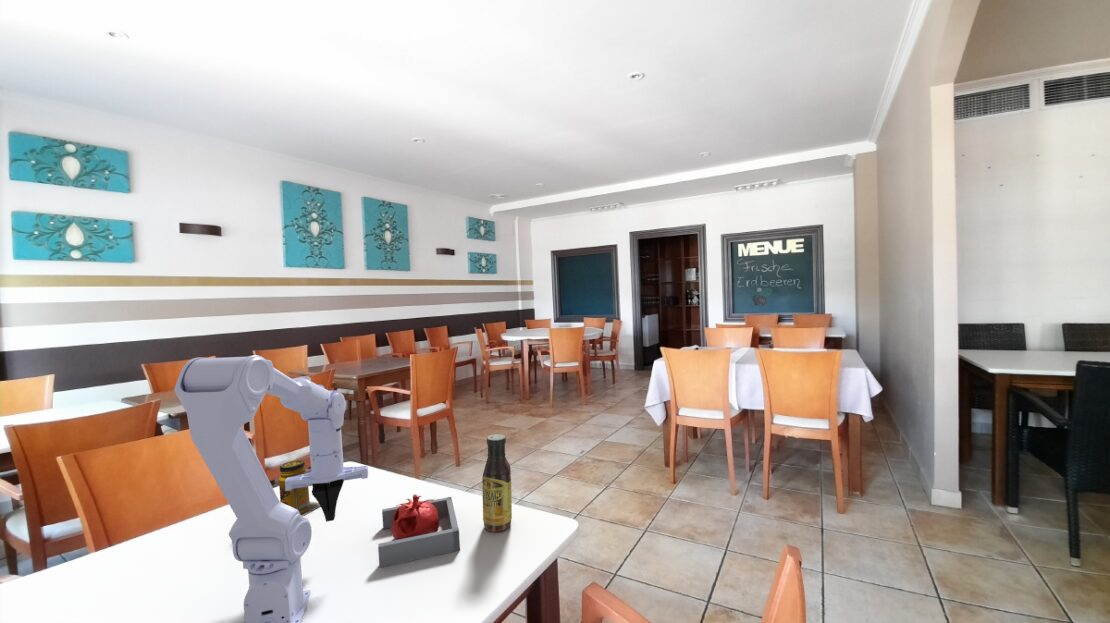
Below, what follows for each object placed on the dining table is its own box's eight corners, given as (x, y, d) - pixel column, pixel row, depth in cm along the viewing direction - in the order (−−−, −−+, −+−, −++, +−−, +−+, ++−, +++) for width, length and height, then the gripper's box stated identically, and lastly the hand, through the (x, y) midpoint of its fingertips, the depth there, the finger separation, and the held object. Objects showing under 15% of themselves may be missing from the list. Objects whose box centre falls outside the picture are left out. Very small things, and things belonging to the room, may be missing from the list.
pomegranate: (424, 521, 101) (422, 481, 101) (449, 536, 95) (447, 492, 94) (382, 539, 94) (380, 496, 94) (405, 556, 87) (403, 509, 87)
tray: (460, 550, 89) (459, 530, 89) (379, 567, 84) (378, 547, 84) (452, 513, 104) (451, 496, 104) (383, 526, 99) (382, 509, 99)
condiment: (272, 517, 106) (269, 467, 106) (303, 501, 114) (300, 454, 114) (295, 521, 104) (291, 470, 103) (325, 504, 112) (321, 457, 111)
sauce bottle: (477, 530, 96) (472, 439, 95) (494, 516, 102) (490, 430, 101) (502, 536, 93) (498, 442, 92) (518, 522, 99) (514, 433, 98)
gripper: (367, 439, 94) (371, 503, 95) (289, 450, 90) (294, 516, 90) (364, 450, 87) (368, 518, 88) (280, 462, 83) (285, 533, 83)
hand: (330, 518), depth 89 cm, fingers closed
